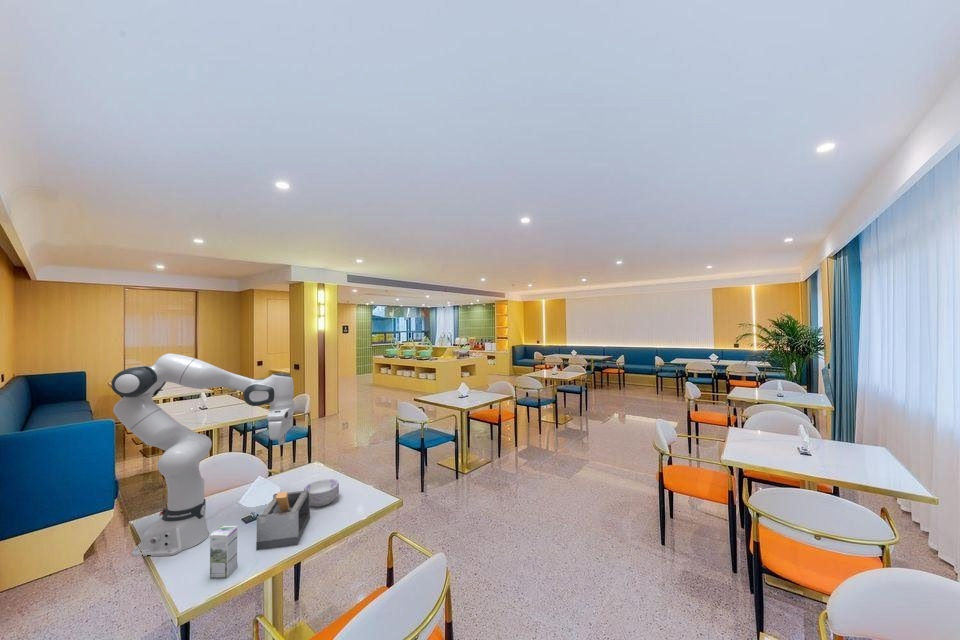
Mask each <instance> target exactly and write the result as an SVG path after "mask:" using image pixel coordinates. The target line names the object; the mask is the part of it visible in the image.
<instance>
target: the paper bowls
mask: <svg viewBox="0 0 960 640" xmlns="http://www.w3.org/2000/svg"><path fill="white" fill-rule="evenodd" d="M305 490H310V507H311V506H312V507H315V508H316V507H318V506H319V507H324V506H327V505H329V504H330V502H331V503H332V502H333V501H334V498H336V497H337V496H338V495H339V494H340V493H339V492H340V491H339V490H340V483H339V481H338V480H336V479H333V478H326V479H324V478H323V479H319V480H318V479H317V480H316V481H312V482H310V483H308V484H307V485H305V487H304V489H303V491H305Z"/></svg>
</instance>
